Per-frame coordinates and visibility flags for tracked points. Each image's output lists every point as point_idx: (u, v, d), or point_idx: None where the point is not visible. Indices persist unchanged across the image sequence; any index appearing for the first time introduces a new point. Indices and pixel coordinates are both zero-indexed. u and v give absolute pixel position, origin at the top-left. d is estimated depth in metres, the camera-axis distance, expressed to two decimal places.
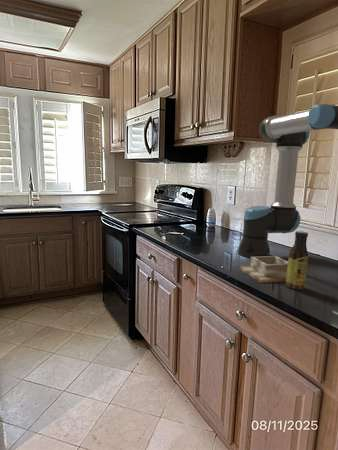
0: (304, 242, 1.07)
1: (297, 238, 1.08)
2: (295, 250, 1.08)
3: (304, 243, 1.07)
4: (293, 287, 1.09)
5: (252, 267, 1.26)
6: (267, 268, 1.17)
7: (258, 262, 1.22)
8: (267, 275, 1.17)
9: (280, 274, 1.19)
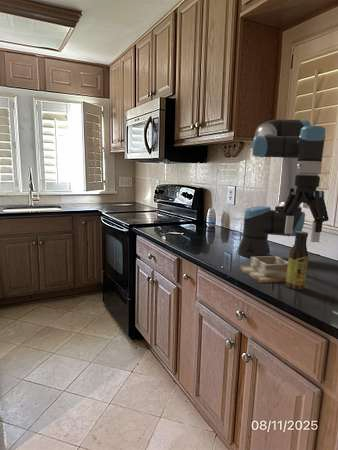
0: (304, 242, 1.07)
1: (297, 238, 1.08)
2: (295, 250, 1.08)
3: (304, 243, 1.07)
4: (293, 287, 1.09)
5: (252, 267, 1.26)
6: (267, 268, 1.17)
7: (258, 262, 1.22)
8: (267, 275, 1.17)
9: (280, 274, 1.19)
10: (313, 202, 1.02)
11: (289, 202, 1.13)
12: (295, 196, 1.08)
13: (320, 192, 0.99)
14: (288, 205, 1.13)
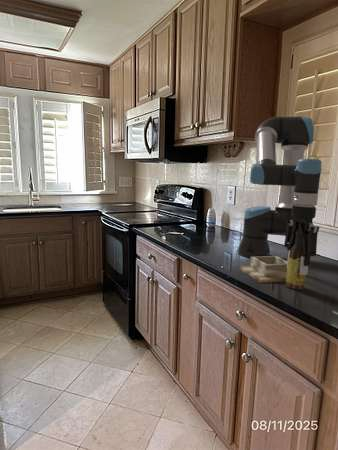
0: None
1: (297, 238, 1.08)
2: (295, 250, 1.07)
3: None
4: (293, 287, 1.09)
5: (252, 267, 1.26)
6: (267, 268, 1.17)
7: (258, 262, 1.22)
8: (267, 275, 1.17)
9: (280, 274, 1.19)
10: (307, 235, 1.05)
11: (289, 234, 1.13)
12: (292, 227, 1.09)
13: (315, 229, 1.01)
14: (289, 238, 1.13)
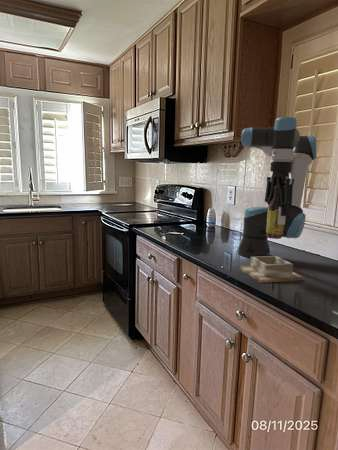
0: None
1: (275, 191, 1.18)
2: (273, 202, 1.18)
3: None
4: (272, 236, 1.19)
5: (252, 267, 1.26)
6: (267, 268, 1.17)
7: (258, 262, 1.22)
8: (267, 275, 1.17)
9: (280, 274, 1.19)
10: (284, 188, 1.16)
11: (269, 190, 1.23)
12: (271, 182, 1.20)
13: (290, 180, 1.11)
14: (268, 193, 1.24)
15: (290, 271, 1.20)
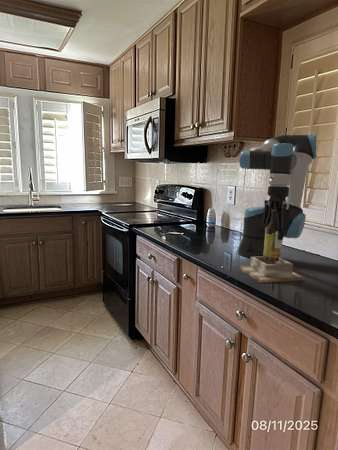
0: None
1: (272, 215, 1.20)
2: (271, 226, 1.19)
3: None
4: (269, 259, 1.20)
5: (252, 267, 1.26)
6: (267, 268, 1.17)
7: (258, 262, 1.22)
8: (267, 275, 1.17)
9: (280, 274, 1.19)
10: (281, 212, 1.17)
11: (266, 213, 1.25)
12: (269, 206, 1.21)
13: (287, 205, 1.13)
14: (266, 216, 1.25)
15: (290, 271, 1.20)
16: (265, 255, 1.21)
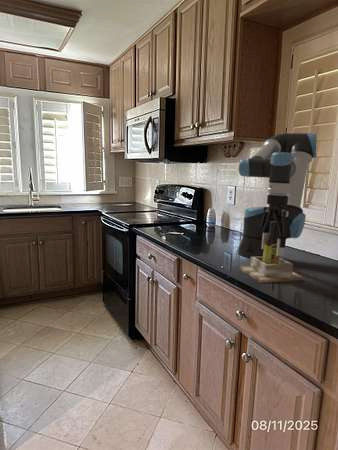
0: (277, 230, 1.20)
1: (271, 227, 1.21)
2: (269, 237, 1.21)
3: (277, 231, 1.20)
4: None
5: (252, 267, 1.26)
6: (267, 268, 1.17)
7: (258, 262, 1.22)
8: (267, 275, 1.17)
9: (280, 274, 1.19)
10: (281, 220, 1.17)
11: (264, 219, 1.26)
12: (268, 213, 1.22)
13: (287, 213, 1.14)
14: (264, 222, 1.27)
15: (290, 271, 1.20)
16: None
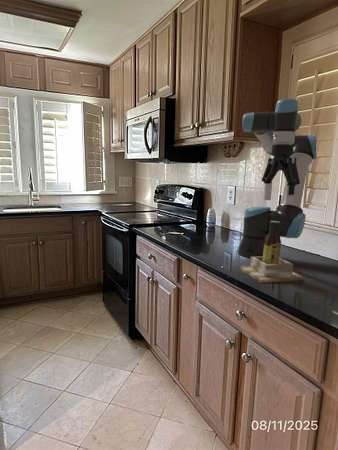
0: (277, 230, 1.20)
1: (271, 227, 1.21)
2: (269, 237, 1.21)
3: (277, 231, 1.20)
4: None
5: (252, 267, 1.26)
6: (267, 268, 1.17)
7: (258, 262, 1.22)
8: (267, 275, 1.17)
9: (280, 274, 1.19)
10: (287, 168, 1.13)
11: (267, 171, 1.24)
12: (272, 164, 1.19)
13: (292, 159, 1.10)
14: (267, 174, 1.25)
15: (290, 271, 1.20)
16: None
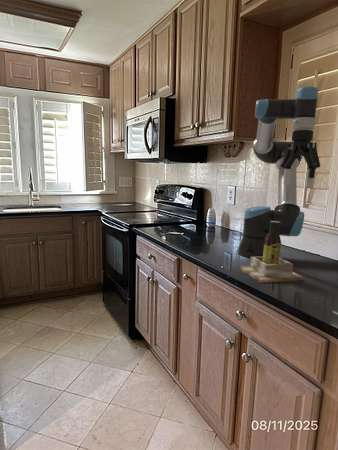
0: (277, 230, 1.20)
1: (271, 227, 1.21)
2: (269, 237, 1.21)
3: (277, 231, 1.20)
4: None
5: (252, 267, 1.26)
6: (267, 268, 1.17)
7: (258, 262, 1.22)
8: (267, 275, 1.17)
9: (280, 274, 1.19)
10: (307, 153, 1.19)
11: (287, 157, 1.30)
12: (292, 150, 1.25)
13: (313, 143, 1.16)
14: (286, 159, 1.30)
15: (290, 271, 1.20)
16: None
